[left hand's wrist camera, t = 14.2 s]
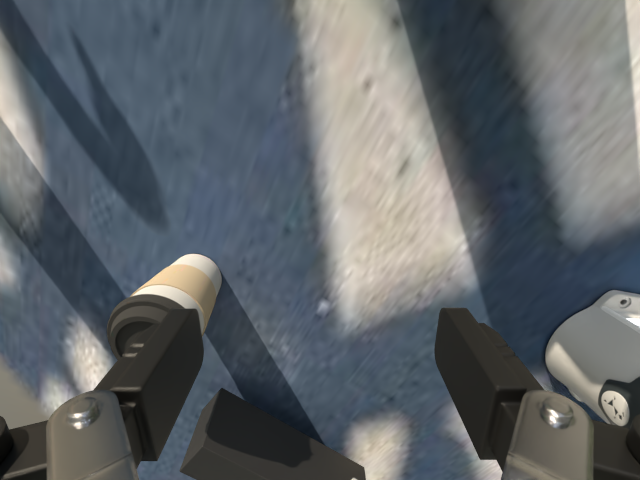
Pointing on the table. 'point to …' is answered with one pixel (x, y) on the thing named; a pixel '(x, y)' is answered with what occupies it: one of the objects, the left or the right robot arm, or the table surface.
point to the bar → (258, 447)
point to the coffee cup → (165, 299)
